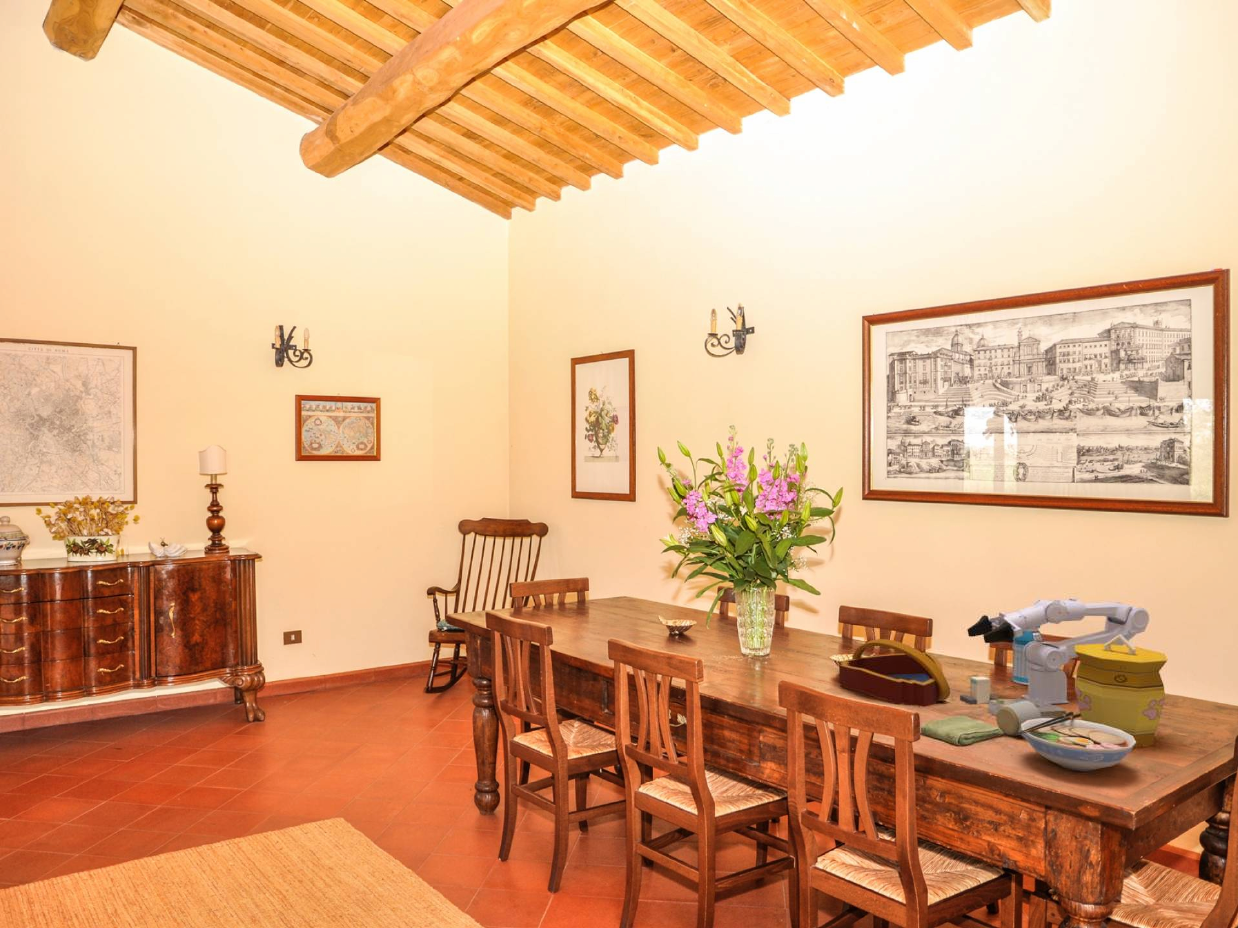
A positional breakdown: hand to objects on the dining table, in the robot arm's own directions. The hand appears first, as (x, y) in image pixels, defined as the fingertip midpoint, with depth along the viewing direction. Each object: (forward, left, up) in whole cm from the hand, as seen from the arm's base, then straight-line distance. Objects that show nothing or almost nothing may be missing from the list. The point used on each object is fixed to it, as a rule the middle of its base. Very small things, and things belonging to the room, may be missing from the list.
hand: (976, 636), depth 254 cm
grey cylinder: (+5, +28, -19) cm, 34 cm away
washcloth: (+20, +25, -19) cm, 37 cm away
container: (-17, +33, -19) cm, 41 cm away
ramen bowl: (+8, +50, -19) cm, 53 cm away
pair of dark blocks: (-2, -1, -18) cm, 19 cm away
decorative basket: (+15, -16, -19) cm, 29 cm away
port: (-5, +15, -18) cm, 24 cm away
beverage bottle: (-29, -18, -19) cm, 39 cm away
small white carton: (-2, -1, -18) cm, 19 cm away
